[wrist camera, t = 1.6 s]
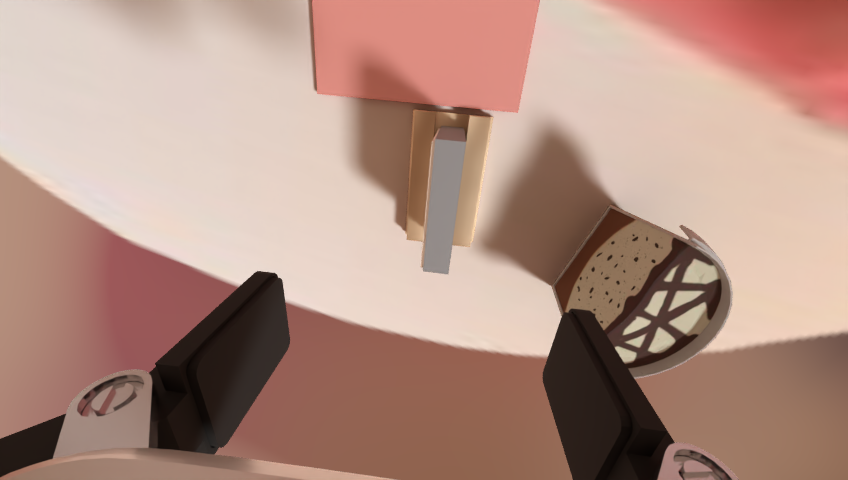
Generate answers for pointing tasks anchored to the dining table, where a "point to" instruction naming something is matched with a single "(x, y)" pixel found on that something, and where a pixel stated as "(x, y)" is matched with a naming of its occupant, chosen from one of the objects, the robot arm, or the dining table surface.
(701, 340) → the half round cake
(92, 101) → the dining table surface
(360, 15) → the mat
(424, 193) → the stand
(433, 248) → the grey square slab
